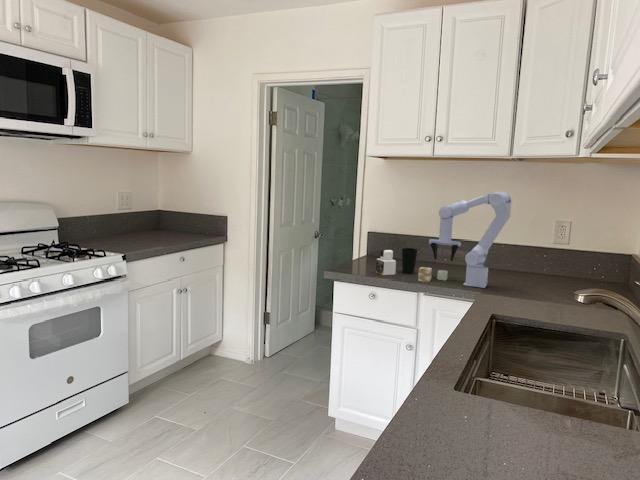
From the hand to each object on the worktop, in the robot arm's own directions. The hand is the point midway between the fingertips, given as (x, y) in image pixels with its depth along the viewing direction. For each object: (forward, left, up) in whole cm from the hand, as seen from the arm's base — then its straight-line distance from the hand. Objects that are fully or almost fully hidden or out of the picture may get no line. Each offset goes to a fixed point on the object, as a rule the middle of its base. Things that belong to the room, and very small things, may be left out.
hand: (443, 259), depth 227 cm
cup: (+18, -5, -10) cm, 21 cm away
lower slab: (+7, +8, -10) cm, 14 cm away
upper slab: (+7, +8, -7) cm, 12 cm away
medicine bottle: (+27, +4, -10) cm, 29 cm away
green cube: (0, 0, -10) cm, 10 cm away
